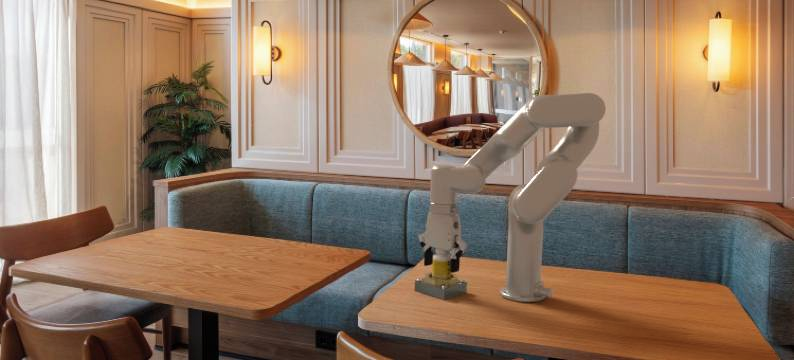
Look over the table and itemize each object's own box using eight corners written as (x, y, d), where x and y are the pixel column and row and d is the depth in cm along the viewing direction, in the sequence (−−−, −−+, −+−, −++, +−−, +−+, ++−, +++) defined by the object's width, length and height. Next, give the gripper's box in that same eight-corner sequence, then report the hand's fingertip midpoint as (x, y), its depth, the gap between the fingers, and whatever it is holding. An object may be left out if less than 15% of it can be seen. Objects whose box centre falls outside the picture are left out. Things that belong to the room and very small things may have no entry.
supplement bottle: (449, 284, 166) (450, 250, 165) (430, 283, 167) (431, 249, 166) (452, 279, 171) (453, 246, 170) (433, 278, 172) (434, 245, 171)
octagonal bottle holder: (466, 292, 170) (467, 276, 169) (444, 299, 162) (444, 283, 162) (437, 284, 177) (437, 269, 177) (414, 290, 170) (414, 275, 169)
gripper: (476, 211, 164) (473, 272, 166) (428, 204, 176) (427, 260, 178) (459, 214, 158) (457, 277, 160) (411, 206, 170) (410, 264, 172)
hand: (441, 268), depth 169 cm, fingers open, 9 cm apart
